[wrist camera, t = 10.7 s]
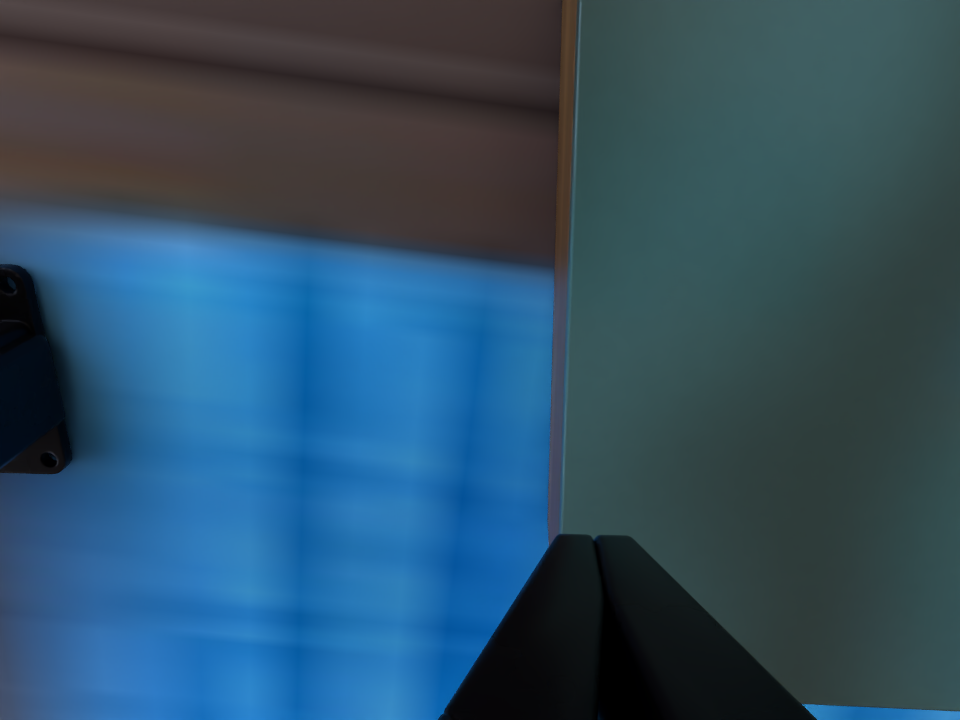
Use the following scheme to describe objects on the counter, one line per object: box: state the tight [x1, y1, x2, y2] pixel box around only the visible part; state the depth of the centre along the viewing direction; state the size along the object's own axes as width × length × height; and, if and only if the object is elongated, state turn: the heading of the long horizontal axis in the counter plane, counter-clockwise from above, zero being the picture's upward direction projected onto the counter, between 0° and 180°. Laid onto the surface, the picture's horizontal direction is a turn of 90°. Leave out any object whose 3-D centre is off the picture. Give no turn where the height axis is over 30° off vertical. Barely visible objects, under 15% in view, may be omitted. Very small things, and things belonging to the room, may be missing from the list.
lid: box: [558, 0, 960, 711], centre depth 14 cm, size 13×16×1 cm
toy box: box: [548, 0, 577, 546], centre depth 18 cm, size 12×16×6 cm
